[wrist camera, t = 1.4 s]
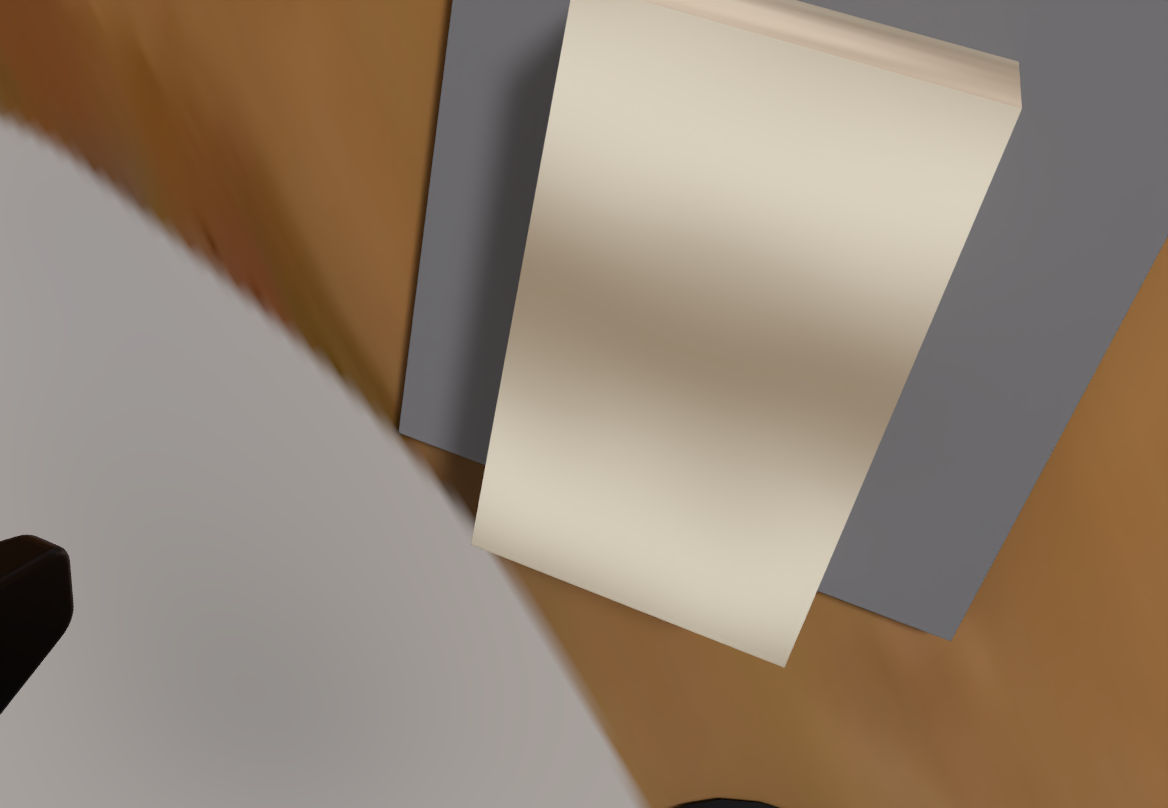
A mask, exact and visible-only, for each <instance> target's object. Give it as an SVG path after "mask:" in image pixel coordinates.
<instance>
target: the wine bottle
mask: <svg viewBox="0 0 1168 808" xmlns="http://www.w3.org/2000/svg"><path fill="white" fill-rule="evenodd" d="M681 808H776V807H773V806H770V805H767V804H763V803H758V802H747V801H736V800H725V799H719V800H713V801H707V802H701V803H695V804H689V805H684V806H683V807H681Z"/></svg>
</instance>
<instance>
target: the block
mask: <svg viewBox="0 0 1168 808" xmlns="http://www.w3.org/2000/svg"><path fill="white" fill-rule="evenodd" d="M1021 110H1022V102H1021V87H1020V71H1019V62H1018V61H1014V60H1011V59H1007V58H1003V57H1000V56H996V55H993V54H989V53H985V52H982V51H978V50H975V49H971V48H967V47H964V46H960V45H956V44H953V43H949V42H946V41H942V40H938V39H935V38H931V37H928V36H924V35H920V34H917V33H913V32H909V31H906V30H902V29H899V28H895V27H891V26H888V25H884V24H881V23H877V22H873V21H870V20H866V19H862V18H859V17H855V16H852V15H848V14H844V13H841V12H837V11H834V10H830V9H826V8H823V7H819V6H815V5H812V4H808V3H805V2H801V1H797V0H570V5H569V11H568V16H567V22H566V27H565V33H564V38H563V44H562V49H561V55H560V60H559V66H558V71H557V77H556V82H555V87H554V93H553V98H552V104H551V109H550V115H549V120H548V126H547V131H546V137H545V142H544V148H543V153H542V159H541V164H540V170H539V175H538V181H537V186H536V192H535V197H534V203H533V208H532V214H531V219H530V224H529V230H528V235H527V241H526V246H525V252H524V257H523V263H522V268H521V274H520V279H519V285H518V290H517V296H516V301H515V307H514V312H513V318H512V323H511V329H510V334H509V340H508V345H507V351H506V356H505V361H504V367H503V372H502V378H501V383H500V389H499V394H498V400H497V405H496V411H495V416H494V422H493V427H492V433H491V438H490V444H489V449H488V455H487V460H486V466H485V471H484V477H483V482H482V488H481V493H480V498H479V504H478V509H477V515H476V520H475V526H474V531H473V537H472V542H471V545H474V546H476V547H479V548H481V549H484V550H487V551H489V552H492V553H494V554H497V555H499V556H502V557H504V558H507V559H509V560H512V561H514V562H517V563H520V564H522V565H525V566H527V567H530V568H532V569H535V570H537V571H540V572H542V573H545V574H548V575H550V576H553V577H555V578H558V579H560V580H563V581H565V582H568V583H570V584H573V585H576V586H578V587H581V588H583V589H586V590H588V591H591V592H593V593H596V594H598V595H601V596H603V597H606V598H609V599H611V600H614V601H616V602H619V603H621V604H624V605H626V606H629V607H631V608H634V609H637V610H639V611H642V612H644V613H647V614H649V615H652V616H654V617H657V618H659V619H662V620H664V621H667V622H670V623H672V624H675V625H677V626H680V627H682V628H685V629H687V630H690V631H692V632H695V633H698V634H700V635H703V636H705V637H708V638H710V639H713V640H715V641H718V642H720V643H723V644H726V645H728V646H731V647H733V648H736V649H738V650H741V651H743V652H746V653H748V654H751V655H753V656H756V657H759V658H761V659H764V660H766V661H769V662H771V663H774V664H776V665H779V666H781V667H785V665H786V663H787V660H788V658H789V656H790V653H791V651H792V648H793V646H794V644H795V641H796V639H797V637H798V634H799V632H800V630H801V627H802V625H803V623H804V620H805V618H806V616H807V613H808V611H809V608H810V606H811V604H812V601H813V599H814V597H815V594H816V592H817V590H818V587H819V585H820V583H821V580H822V578H823V576H824V573H825V571H826V568H827V566H828V564H829V561H830V559H831V557H832V554H833V552H834V550H835V547H836V545H837V543H838V540H839V538H840V536H841V533H842V531H843V529H844V526H845V524H846V521H847V519H848V517H849V514H850V512H851V510H852V507H853V505H854V503H855V500H856V498H857V496H858V493H859V491H860V489H861V486H862V484H863V481H864V479H865V477H866V474H867V472H868V470H869V467H870V465H871V463H872V460H873V458H874V456H875V453H876V451H877V449H878V446H879V444H880V441H881V439H882V437H883V434H884V432H885V430H886V427H887V425H888V423H889V420H890V418H891V416H892V413H893V411H894V409H895V406H896V404H897V402H898V399H899V397H900V394H901V392H902V390H903V387H904V385H905V383H906V380H907V378H908V376H909V373H910V371H911V369H912V366H913V364H914V362H915V359H916V357H917V354H918V352H919V350H920V347H921V345H922V343H923V340H924V338H925V336H926V333H927V331H928V329H929V326H930V324H931V322H932V319H933V317H934V314H935V312H936V310H937V307H938V305H939V303H940V300H941V298H942V296H943V293H944V291H945V289H946V286H947V284H948V282H949V279H950V277H951V275H952V272H953V270H954V267H955V265H956V263H957V260H958V258H959V256H960V253H961V251H962V249H963V246H964V244H965V242H966V239H967V237H968V235H969V232H970V230H971V227H972V225H973V223H974V220H975V218H976V216H977V213H978V211H979V209H980V206H981V204H982V202H983V199H984V197H985V195H986V192H987V190H988V187H989V185H990V183H991V180H992V178H993V176H994V173H995V171H996V169H997V166H998V164H999V162H1000V159H1001V157H1002V155H1003V152H1004V150H1005V148H1006V145H1007V143H1008V140H1009V138H1010V136H1011V133H1012V131H1013V129H1014V126H1015V124H1016V122H1017V119H1018V117H1019V115H1020V112H1021Z"/></svg>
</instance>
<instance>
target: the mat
mask: <svg viewBox="0 0 1168 808" xmlns="http://www.w3.org/2000/svg"><path fill="white" fill-rule="evenodd" d="M797 1H801V2H805V3H808V4H812V5H815V6H819V7H823V8H826V9H830V10H834V11H837V12H841V13H844V14H848V15H852V16H855V17H859V18H862V19H866V20H870V21H873V22H877V23H881V24H884V25H888V26H891V27H895V28H899V29H902V30H906V31H909V32H913V33H917V34H920V35H924V36H928V37H931V38H935V39H938V40H942V41H946V42H949V43H953V44H956V45H960V46H964V47H967V48H971V49H975V50H978V51H982V52H985V53H989V54H993V55H996V56H1000V57H1003V58H1007V59H1011V60H1014V61H1018V62H1019V71H1020V87H1021V102H1022V110H1021V112H1020V115H1019V117H1018V119H1017V122H1016V124H1015V126H1014V129H1013V131H1012V133H1011V136H1010V138H1009V140H1008V143H1007V145H1006V148H1005V150H1004V152H1003V155H1002V157H1001V159H1000V162H999V164H998V166H997V169H996V171H995V173H994V176H993V178H992V180H991V183H990V185H989V187H988V190H987V192H986V195H985V197H984V199H983V202H982V204H981V206H980V209H979V211H978V213H977V216H976V218H975V220H974V223H973V225H972V227H971V230H970V232H969V235H968V237H967V239H966V242H965V244H964V246H963V249H962V251H961V253H960V256H959V258H958V260H957V263H956V265H955V267H954V270H953V272H952V275H951V277H950V279H949V282H948V284H947V286H946V289H945V291H944V293H943V296H942V298H941V300H940V303H939V305H938V307H937V310H936V312H935V314H934V317H933V319H932V322H931V324H930V326H929V329H928V331H927V333H926V336H925V338H924V340H923V343H922V345H921V347H920V350H919V352H918V354H917V357H916V359H915V362H914V364H913V366H912V369H911V371H910V373H909V376H908V378H907V380H906V383H905V385H904V387H903V390H902V392H901V394H900V397H899V399H898V402H897V404H896V406H895V409H894V411H893V413H892V416H891V418H890V420H889V423H888V425H887V427H886V430H885V432H884V434H883V437H882V439H881V441H880V444H879V446H878V449H877V451H876V453H875V456H874V458H873V460H872V463H871V465H870V467H869V470H868V472H867V474H866V477H865V479H864V481H863V484H862V486H861V489H860V491H859V493H858V496H857V498H856V500H855V503H854V505H853V507H852V510H851V512H850V514H849V517H848V519H847V521H846V524H845V526H844V529H843V531H842V533H841V536H840V538H839V540H838V543H837V545H836V547H835V550H834V552H833V554H832V557H831V559H830V561H829V564H828V566H827V568H826V571H825V573H824V576H823V578H822V580H821V583H820V585H819V587H818V590H817V591H819V592H822V593H824V594H827V595H830V596H832V597H835V598H838V599H840V600H843V601H846V602H848V603H851V604H854V605H856V606H859V607H862V608H864V609H867V610H869V611H872V612H875V613H877V614H880V615H883V616H885V617H888V618H891V619H893V620H896V621H899V622H901V623H904V624H907V625H909V626H912V627H914V628H917V629H920V630H922V631H925V632H928V633H930V634H933V635H936V636H938V637H941V638H944V639H946V640H949V641H951V640H952V638H953V636H954V634H955V633H956V631H957V629H958V627H959V625H960V623H961V621H962V619H963V618H964V616H965V614H966V612H967V610H968V608H969V606H970V605H971V603H972V601H973V599H974V597H975V595H976V593H977V591H978V590H979V588H980V586H981V584H982V582H983V580H984V578H985V576H986V575H987V573H988V571H989V569H990V567H991V565H992V563H993V562H994V560H995V558H996V556H997V554H998V552H999V550H1000V548H1001V547H1002V545H1003V543H1004V541H1005V539H1006V537H1007V535H1008V534H1009V532H1010V530H1011V528H1012V526H1013V524H1014V522H1015V520H1016V519H1017V517H1018V515H1019V513H1020V511H1021V509H1022V507H1023V505H1024V504H1025V502H1026V500H1027V498H1028V496H1029V494H1030V492H1031V491H1032V489H1033V487H1034V485H1035V483H1036V481H1037V479H1038V477H1039V476H1040V474H1041V472H1042V470H1043V468H1044V466H1045V464H1046V463H1047V461H1048V459H1049V457H1050V455H1051V453H1052V451H1053V449H1054V448H1055V446H1056V444H1057V442H1058V440H1059V438H1060V436H1061V435H1062V433H1063V431H1064V429H1065V427H1066V425H1067V423H1068V421H1069V420H1070V418H1071V416H1072V414H1073V412H1074V410H1075V408H1076V406H1077V405H1078V403H1079V401H1080V399H1081V397H1082V395H1083V393H1084V392H1085V390H1086V388H1087V386H1088V384H1089V382H1090V380H1091V378H1092V377H1093V375H1094V373H1095V371H1096V369H1097V367H1098V365H1099V364H1100V362H1101V360H1102V358H1103V356H1104V354H1105V352H1106V350H1107V349H1108V347H1109V345H1110V343H1111V341H1112V339H1113V337H1114V336H1115V334H1116V332H1117V330H1118V328H1119V326H1120V324H1121V322H1122V321H1123V319H1124V317H1125V315H1126V313H1127V311H1128V309H1129V307H1130V306H1131V304H1132V302H1133V300H1134V298H1135V296H1136V294H1137V293H1138V291H1139V289H1140V287H1141V285H1142V283H1143V281H1144V279H1145V278H1146V276H1147V274H1148V272H1149V270H1150V268H1151V266H1152V265H1153V263H1154V261H1155V259H1156V257H1157V255H1158V253H1159V251H1160V250H1161V248H1162V246H1163V244H1164V242H1165V240H1166V238H1167V237H1168V0H797ZM569 5H570V0H453V2H452V10H451V18H450V26H449V34H448V42H447V50H446V58H445V66H444V74H443V82H442V90H441V98H440V106H439V114H438V122H437V130H436V138H435V146H434V154H433V162H432V170H431V178H430V186H429V194H428V202H427V210H426V218H425V226H424V234H423V242H422V250H421V258H420V266H419V274H418V282H417V290H416V298H415V306H414V314H413V322H412V330H411V338H410V346H409V354H408V362H407V370H406V378H405V386H404V394H403V402H402V410H401V418H400V426H399V433H401V434H404V435H406V436H409V437H412V438H414V439H417V440H419V441H422V442H425V443H427V444H430V445H433V446H435V447H438V448H441V449H443V450H446V451H449V452H451V453H454V454H457V455H459V456H462V457H464V458H467V459H470V460H472V461H475V462H478V463H480V464H483V465H486V460H487V455H488V449H489V444H490V438H491V433H492V427H493V422H494V416H495V411H496V405H497V400H498V394H499V389H500V383H501V378H502V372H503V367H504V361H505V356H506V351H507V345H508V340H509V334H510V329H511V323H512V318H513V312H514V307H515V301H516V296H517V290H518V285H519V279H520V274H521V268H522V263H523V257H524V252H525V246H526V241H527V235H528V230H529V224H530V219H531V214H532V208H533V203H534V197H535V192H536V186H537V181H538V175H539V170H540V164H541V159H542V153H543V148H544V142H545V137H546V131H547V126H548V120H549V115H550V109H551V104H552V98H553V93H554V87H555V82H556V77H557V71H558V66H559V60H560V55H561V49H562V44H563V38H564V33H565V27H566V22H567V16H568V11H569Z"/></svg>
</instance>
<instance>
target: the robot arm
mask: <svg viewBox="0 0 1168 808" xmlns="http://www.w3.org/2000/svg"><path fill="white" fill-rule="evenodd" d="M72 614H73V594H72V582H71V570H70V560H69V555H68V554H67V552H66V551H65V549H63V548H62V547H60V546H58V545H55V544H53V543H51V542H48V541H46V540H44V539H41V538H39V537H36V536H33V535H21V536H17V537H13V538H10V539H6V540H3V541H0V714H1V713H2V712H3V710H4V709H5V708H6V707H7V705H8V704H9V703H10V702H11V700H12V699H13V697H14V696H15V695H16V694H17V693H18V691H19V690H20V689H21V688H22V686H23V685H24V684H25V683H26V681H27V680H28V678H29V677H30V676H31V675H32V674H33V672H34V671H35V670H36V669H37V667H38V666H39V665H40V663H41V662H42V661H43V660H44V658H45V657H46V656H47V655H48V653H49V652H50V651H51V649H52V648H53V647H54V646H55V644H56V643H57V642H58V641H59V639H60V638H61V636H62V635H63V634H64V633H65V631H66V629H67V627H68V626H69V623H70V621H71V618H72Z"/></svg>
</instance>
